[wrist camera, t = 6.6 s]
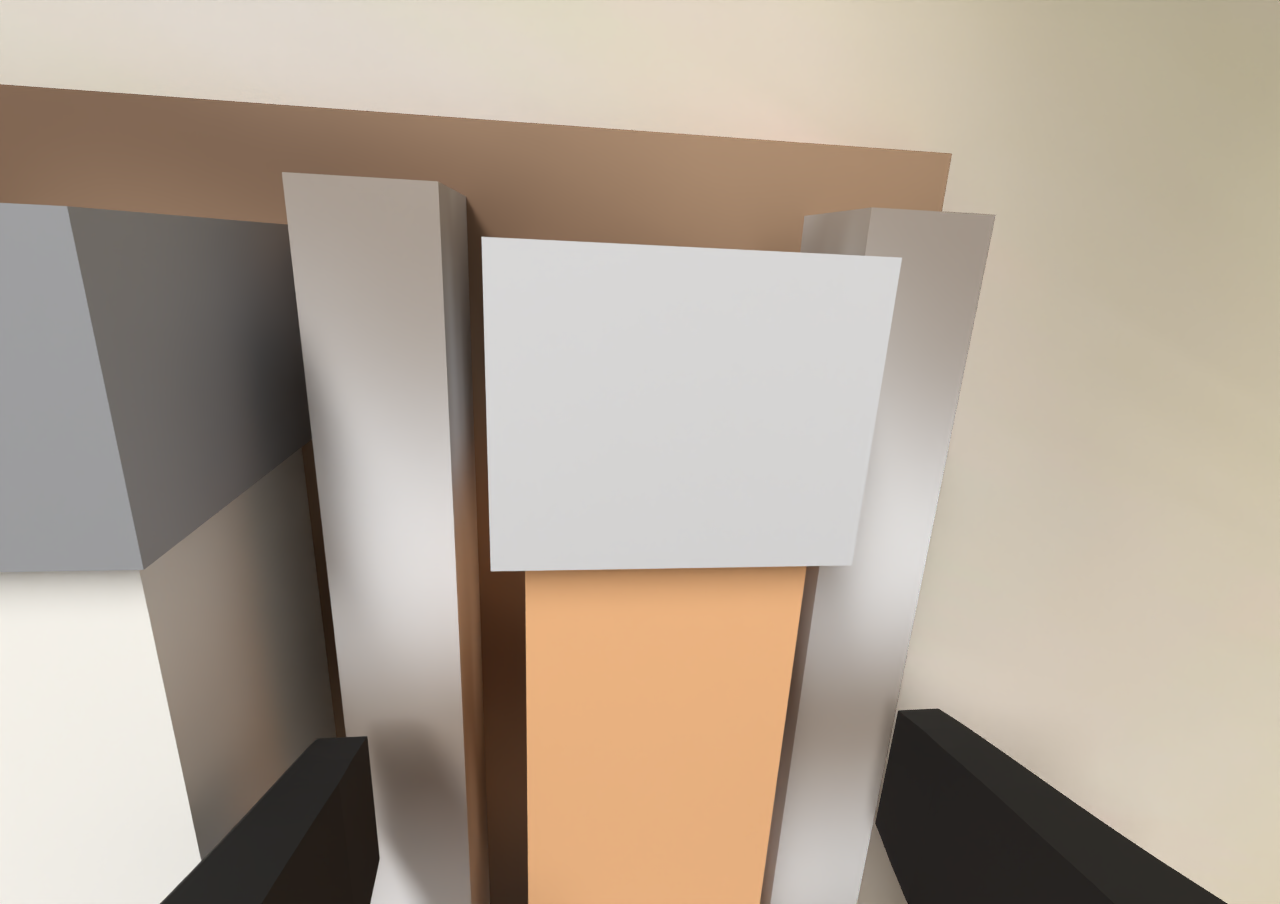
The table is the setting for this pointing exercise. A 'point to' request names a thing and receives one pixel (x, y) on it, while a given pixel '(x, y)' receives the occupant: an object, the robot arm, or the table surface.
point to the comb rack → (457, 425)
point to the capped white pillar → (148, 546)
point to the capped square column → (669, 536)
